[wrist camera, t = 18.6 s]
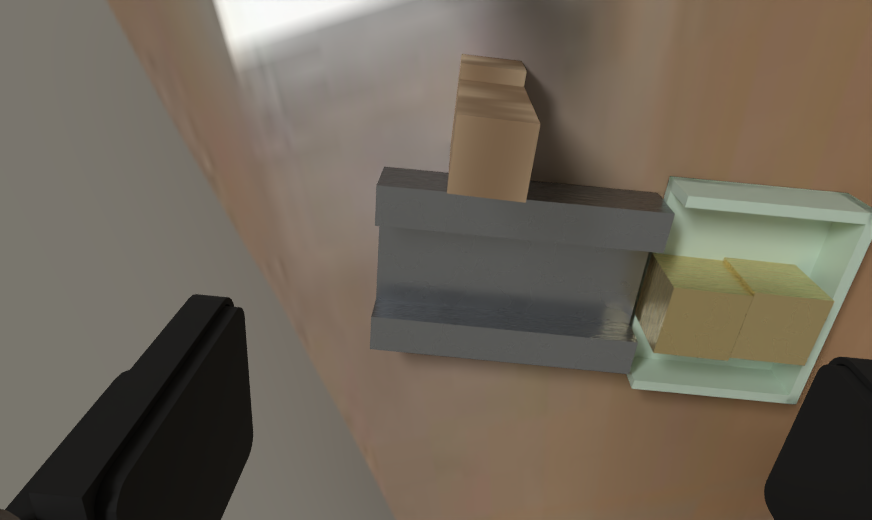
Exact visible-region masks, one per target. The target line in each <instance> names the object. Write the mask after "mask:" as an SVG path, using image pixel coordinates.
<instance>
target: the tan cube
mask: <svg viewBox="0 0 872 520" xmlns="http://www.w3.org/2000/svg"><path fill="white" fill-rule="evenodd" d="M752 299H753V295H752V294H751V293H750V292H749V290H748V289H747V288H746V287H745V286H744V285H743V283H742V282H741V281H740V280H739V279H738V278H737V276H736V275H735V274H734V273H733V272H732V270H731V269H730V268H729V267H728V266H727V265H726V263H725V262H724V261H723V260H714V259H705V258H696V257H687V256H677V255H668V254H659V253H652V255H651V258H650V262H649V265H648V269H647V272H646V275H645V279H644V282H643V286H642V289H641V293H640V296H639V299H638V303H637V306H636V310H635V315H636V317H637V319H638V321H639V324H640V326H641V328H642V330H643V332H644V334H645V336H646V338H647V340H648V343H649V345H650V347H651V349H652V351H653V353H659V354H669V355H678V356H687V357H696V358H706V359H715V360H724V361H728V360H729V357H730V355H731V352H732V350H733V347H734V345H735V342H736V340H737V337H738V335H739V332H740V329H741V327H742V324H743V322H744V319H745V317H746V314H747V312H748V309H749V307H750V304H751V302H752Z"/></svg>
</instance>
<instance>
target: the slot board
mask: <svg viewBox="0 0 872 520" xmlns="http://www.w3.org/2000/svg"><path fill="white" fill-rule="evenodd" d="M448 175H449V173H443V172H433V171H423V170H412V169H402V168H391V167H384V168H383V171H382V173H381V176H380V178H379V181H378V183H377V189H376V214H375V225H376V226H379V248H378V270H377V293H376V301H375V305H374V309H373V312H372V316H371V338H370V349H376V350H386V351H396V352H407V353H417V354H427V355H437V356H448V357H458V358H468V359H479V360H489V361H499V362H510V363H520V364H530V365H540V366H551V367H561V368H571V369H582V370H592V371H602V372H612V373H623V374H629V372H630V369H631V365H632V362H633V358H634V355H635V351H636V348H637V344H638V341H637V339H636V337H635V335H634V333H633V330H632V328H631V326H630V324H629V322H630V319H631V315H632V312H633V308H634V304H635V301H636V297H637V293H638V290H639V286H640V282H641V279H642V275H643V271H644V268H645V264H646V261H647V257H648V253H649V252H656V253H664V250H665V247H666V243H667V240H668V236H669V233H670V230H671V226H672V223H673V219H674V216H675V213H674V212H673V211H672V210H671V208H670V207H669V206H668V205H667V204H666V202H665V201H664V200H663V199H662V197H661V196H660V195H659V194H658V193H653V192H642V191H632V190H621V189H611V188H600V187H590V186H579V185H569V184H558V183H548V182H538V181H530V183H529V188H528V193H527V199H526V203H523V202H515V201H507V200H498V199H490V198H481V197H473V196H464V195H456V194H448V193H447V186H448Z"/></svg>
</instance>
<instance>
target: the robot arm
mask: <svg viewBox="0 0 872 520" xmlns="http://www.w3.org/2000/svg"><path fill="white" fill-rule="evenodd" d="M252 442H253V424H252V411H251V398H250V385H249V370H248V357H247V344H246V330H245V316H244V311H243V309H242V308H240V307H234V304H233V302H232V299H230V298H228V297H218V296H208V295H198V294H196V295H192V296H191V297H190V298H189V299H188V300H187V301H186V303H185V304H184V305H183V306H182V307H181V309H180V310H179V311H178V312H177V314H176V315H175V316H174V317H173V319H172V320H171V321H170V322H169V323H168V324H167V326H166V327H165V328H164V329H163V330H162V332H161V333H160V334H159V335H158V337H157V338H156V339H155V340H154V341H153V343H152V344H151V345H150V346H149V347H148V349H147V350H146V351H145V352H144V353H143V355H142V356H141V357H140V358H139V360H138V361H137V362H136V363H135V364H134V366H133V367H132V368H131V369H130V370H128V371H125V372H123V373H121V374H120V375H119V376H118V377H117V378H116V379H115V380H114V381H113V382H112V383H111V385H110V386H109V387H108V388H107V389H106V391H105V392H104V393H103V394H102V395H101V396H100V398H99V399H98V400H97V401H96V402H95V404H94V405H93V406H92V407H91V408H90V410H89V411H88V412H87V413H86V414H85V415H84V417H83V418H82V419H81V420H80V421H79V423H78V424H77V425H76V426H75V427H74V429H73V430H72V431H71V432H70V433H69V434H68V436H67V437H66V438H65V439H64V440H63V442H62V443H61V444H60V445H59V446H58V448H57V449H56V450H55V451H54V452H53V453H52V455H51V456H50V457H49V458H48V459H47V460H46V462H45V463H44V464H43V465H42V466H41V468H40V469H39V470H38V471H37V472H36V473H35V475H34V476H33V477H32V478H31V479H30V481H29V482H28V483H27V484H26V485H25V486H24V488H23V489H22V490H21V491H20V493H19V494H18V495H17V496H16V497H15V498H14V500H13V501H12V502H11V503H10V504H9V505H8V507H7V508H6V509H5V510H3V509H0V520H221V518H222V516H223V513H224V511H225V509H226V507H227V504H228V502H229V500H230V497H231V495H232V493H233V491H234V489H235V486H236V484H237V482H238V480H239V477H240V475H241V473H242V471H243V468H244V466H245V464H246V461H247V459H248V457H249V454H250V451H251V447H252ZM764 495H765V501H766V504H767V507H768V509H769V511H770V513H771V514H772V516H773V518H774V520H872V360H869V359H859V358H848V357H837V358H834V359H833V360H832V361H830V363H829V364H827V365H823V366H822V367H821V368H820V369H819V370H818V372H817V374H816V376H815V378H814V380H813V382H812V385H811V387H810V389H809V391H808V393H807V395H806V397H805V400H804V402H803V404H802V406H801V408H800V410H799V413H798V415H797V417H796V419H795V421H794V423H793V425H792V428H791V430H790V432H789V434H788V436H787V438H786V440H785V443H784V445H783V447H782V449H781V451H780V453H779V455H778V458H777V460H776V462H775V464H774V466H773V468H772V471H771V473H770V475H769V477H768V479H767V481H766V484H765V490H764Z"/></svg>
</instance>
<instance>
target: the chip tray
mask: <svg viewBox="0 0 872 520" xmlns="http://www.w3.org/2000/svg"><path fill="white" fill-rule="evenodd" d="M664 201H665V202H666V204H667V205H668V206H669V207H670V208H671V210H672V211H673V212H674V213H675V216H674V219H673V223H672V226H671V230H670V233H669V236H668V240H667V243H666V247H665V250H664V253H659V254H668V255H677V256H687V257H696V258H705V259H714V260H723V259H724V257H728V258H738V259H747V260H756V261H765V262H775V263H784V264H793V265H796V266H797V267H798V268H799V269H800V270H802V271H803V272H804V273H805V274H806V275H807V276H808V277H809V278H810V279H811V280H812V281H813V282H815V283H816V284H817V285H818V286H819V287H820V288H821V289H822V290H823V291H824V292H825V293H826V294H827V295H829V296H830V297H831V298H832V299H833V300H834V301H835V302H834V304H833V306H832V308H831V310H830V313H829V315H828V317H827V319H826V321H825V323H824V325H823V327H822V330H821V332H820V334H819V336H818V338H817V340H816V342H815V345H814V347H813V349H812V351H811V353H810V355H809V357H808V360H807V362H806V364H805V366H802V365H793V364H783V363H774V362H765V361H756V360H746V359H737V358H730V357H729V360H728V361H724V360H715V359H706V358H696V357H687V356H678V355H669V354H659V353H653V351H652V349H651V347H650V345H649V343H648V340H647V338H646V336H645V334H644V332H643V330H642V328H641V326H640V324H639V321H638V319H637V317H636V315H635V310H636V306H637V303H638V299H639V296H640V293H641V289H642V286H643V282H644V279H645V275H646V272H647V269H648V265H649V262H650V258H651V255H652V253H656V252H649V254H648V258H647V262H646V265H645V269H644V273H643V276H642V280H641V283H640V287H639V291H638V294H637V298H636V302H635V305H634V309H633V313H632V316H631V320H630V326H631V328H632V330H633V333H634V335H635V337H636V339H637V341H638V344H637V348H636V351H635V355H634V358H633V362H632V365H631V369H630V372H629V374H626V375H627V377H628V380H629V382H630V385H631V388H632V389H642V390H652V391H663V392H673V393H683V394H694V395H704V396H714V397H724V398H735V399H745V400H755V401H766V402H776V403H786V404H796V403H797V401H798V399H799V397H800V395H801V392H802V390H803V388H804V386H805V384H806V382H807V379H808V377H809V375H810V373H811V371H812V368H813V366H814V364H815V362H816V360H817V358H818V355H819V353H820V351H821V349H822V347H823V345H824V342H825V340H826V338H827V336H828V334H829V331H830V329H831V327H832V325H833V323H834V321H835V318H836V316H837V314H838V312H839V310H840V308H841V305H842V303H843V301H844V299H845V297H846V294H847V292H848V290H849V288H850V286H851V284H852V281H853V279H854V277H855V275H856V273H857V271H858V268H859V266H860V264H861V262H862V260H863V257H864V255H865V253H866V251H867V249H868V247H869V244H870V242H871V240H872V207H870V206H868V205H867V204H865V203H863V202H862V201H860V200H859V199H857V198H855V197H854V196H852V195H850V194H849V193H840V192H830V191H819V190H809V189H798V188H788V187H777V186H767V185H756V184H746V183H736V182H725V181H715V180H704V179H694V178H683V177H673V176H670V178H669V182H668V185H667V189H666V192H665V196H664Z"/></svg>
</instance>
